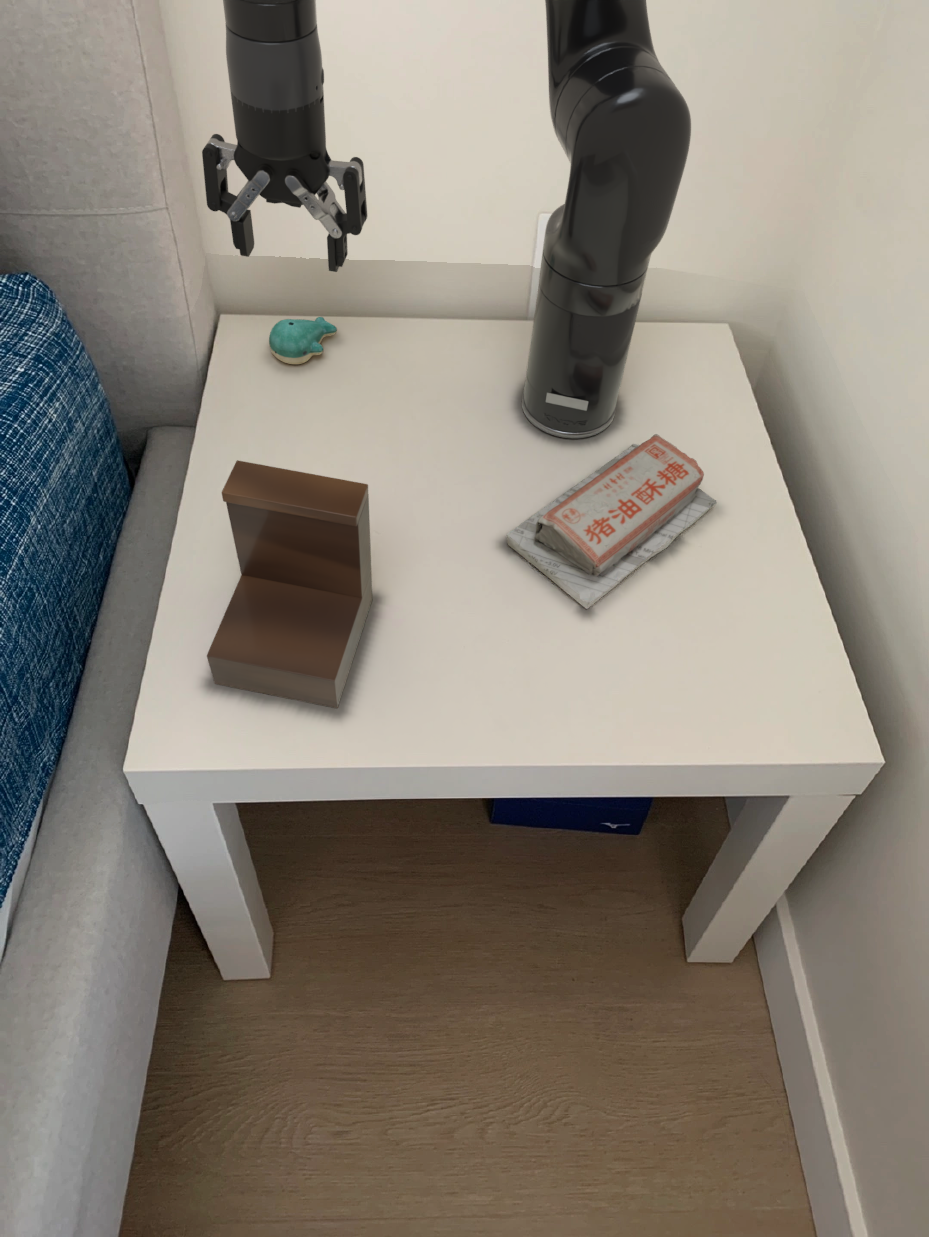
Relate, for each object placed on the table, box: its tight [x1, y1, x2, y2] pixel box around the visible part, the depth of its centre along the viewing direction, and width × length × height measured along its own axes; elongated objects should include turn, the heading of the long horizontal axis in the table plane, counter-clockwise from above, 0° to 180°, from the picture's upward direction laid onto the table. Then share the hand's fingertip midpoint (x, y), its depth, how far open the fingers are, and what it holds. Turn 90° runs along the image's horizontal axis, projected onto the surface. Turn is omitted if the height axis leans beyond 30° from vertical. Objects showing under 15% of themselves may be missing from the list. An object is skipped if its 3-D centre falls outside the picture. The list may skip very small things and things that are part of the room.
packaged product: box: [506, 433, 718, 610], centre depth 87 cm, size 18×5×10 cm
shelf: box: [206, 460, 373, 709], centre depth 74 cm, size 11×10×14 cm
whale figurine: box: [268, 316, 338, 365], centre depth 100 cm, size 6×7×4 cm
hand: (291, 259), depth 92 cm, fingers open, 8 cm apart
